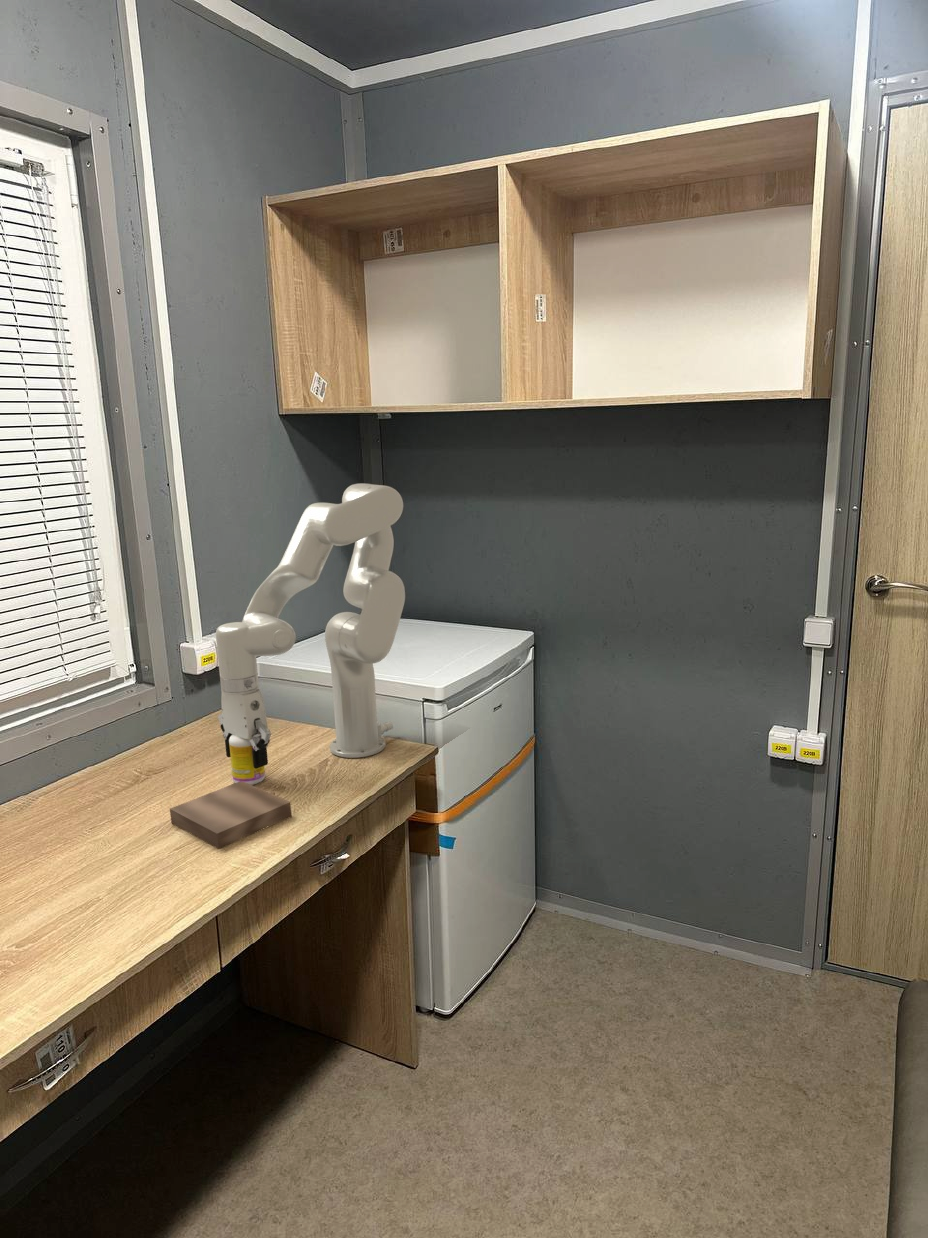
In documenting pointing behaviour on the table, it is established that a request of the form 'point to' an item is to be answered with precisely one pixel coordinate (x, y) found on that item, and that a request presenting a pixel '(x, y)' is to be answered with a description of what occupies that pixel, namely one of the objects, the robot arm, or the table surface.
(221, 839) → the block
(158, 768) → the table surface
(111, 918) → the table surface
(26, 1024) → the table surface
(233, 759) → the supplement bottle
